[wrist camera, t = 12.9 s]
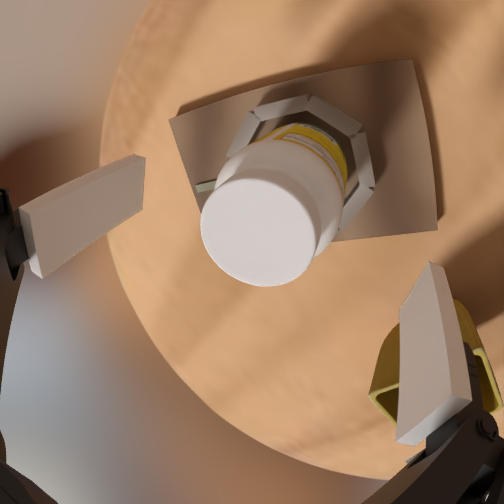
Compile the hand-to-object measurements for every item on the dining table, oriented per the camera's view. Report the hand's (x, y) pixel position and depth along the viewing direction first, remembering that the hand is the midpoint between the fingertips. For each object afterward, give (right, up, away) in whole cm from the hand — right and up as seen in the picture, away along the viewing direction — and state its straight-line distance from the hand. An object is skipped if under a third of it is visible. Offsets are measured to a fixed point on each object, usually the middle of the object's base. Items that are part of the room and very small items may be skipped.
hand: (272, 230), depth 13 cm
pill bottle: (+3, +5, +8) cm, 10 cm away
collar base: (+3, +5, +9) cm, 11 cm away
